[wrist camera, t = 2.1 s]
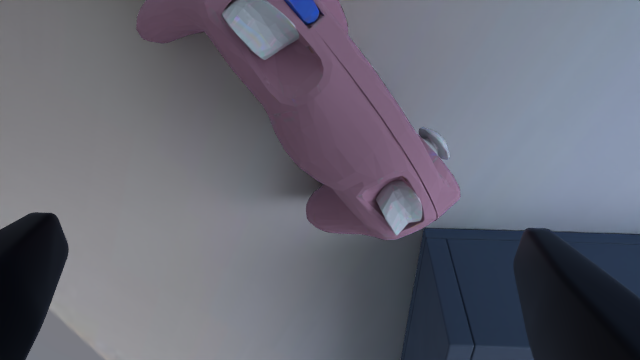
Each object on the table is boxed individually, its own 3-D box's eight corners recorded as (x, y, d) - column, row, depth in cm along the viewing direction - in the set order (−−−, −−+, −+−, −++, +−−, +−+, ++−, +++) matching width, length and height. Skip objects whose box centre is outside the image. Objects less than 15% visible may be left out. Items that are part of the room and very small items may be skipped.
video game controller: (397, 146, 19) (522, 210, 13) (311, 223, 19) (397, 326, 13) (234, -85, 15) (308, -153, 9) (119, 12, 15) (109, 13, 8)
